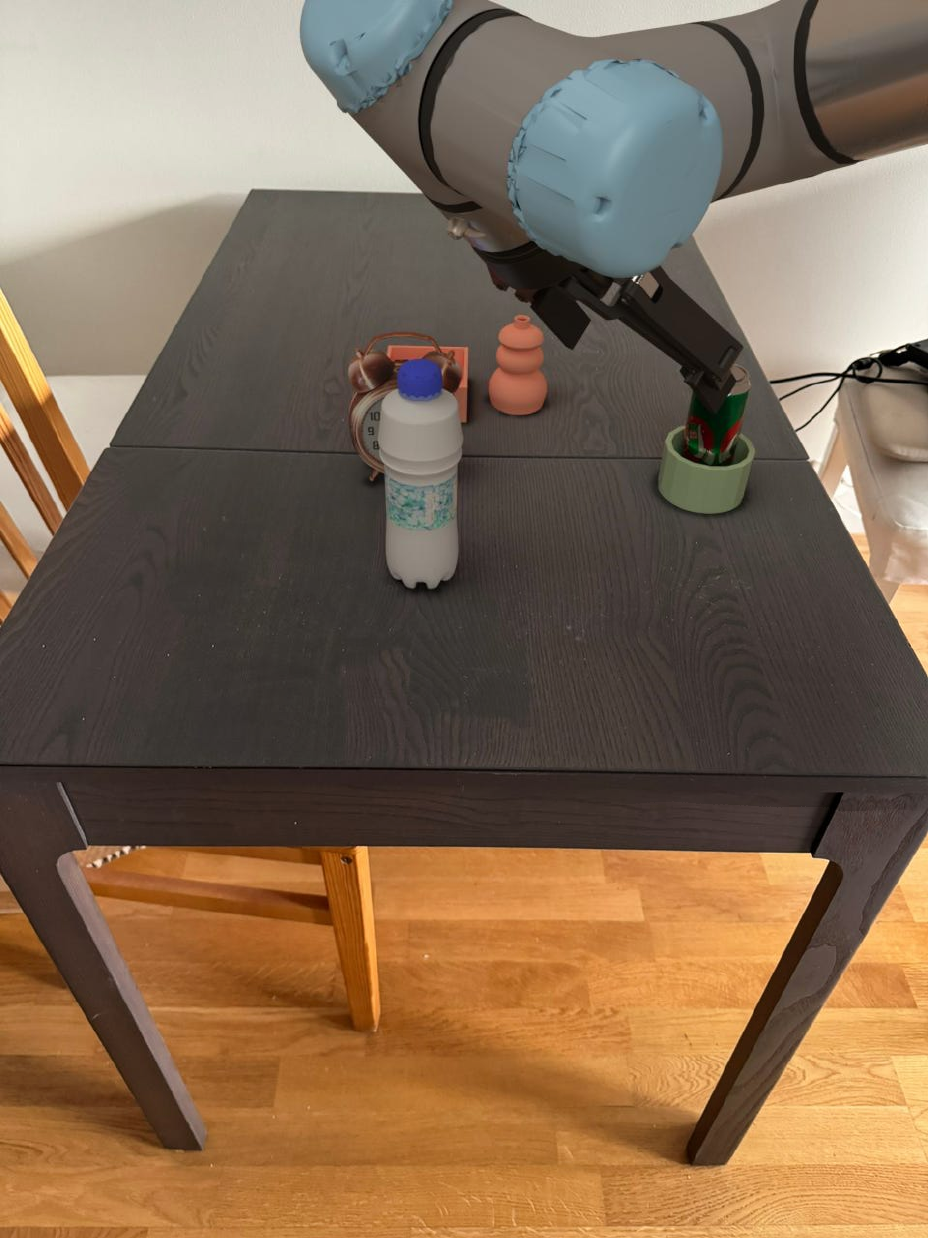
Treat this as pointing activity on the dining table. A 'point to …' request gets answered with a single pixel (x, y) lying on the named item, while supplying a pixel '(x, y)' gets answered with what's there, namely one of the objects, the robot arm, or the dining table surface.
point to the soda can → (716, 425)
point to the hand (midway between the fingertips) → (646, 363)
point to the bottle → (421, 475)
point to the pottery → (500, 369)
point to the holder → (703, 477)
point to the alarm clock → (385, 391)
